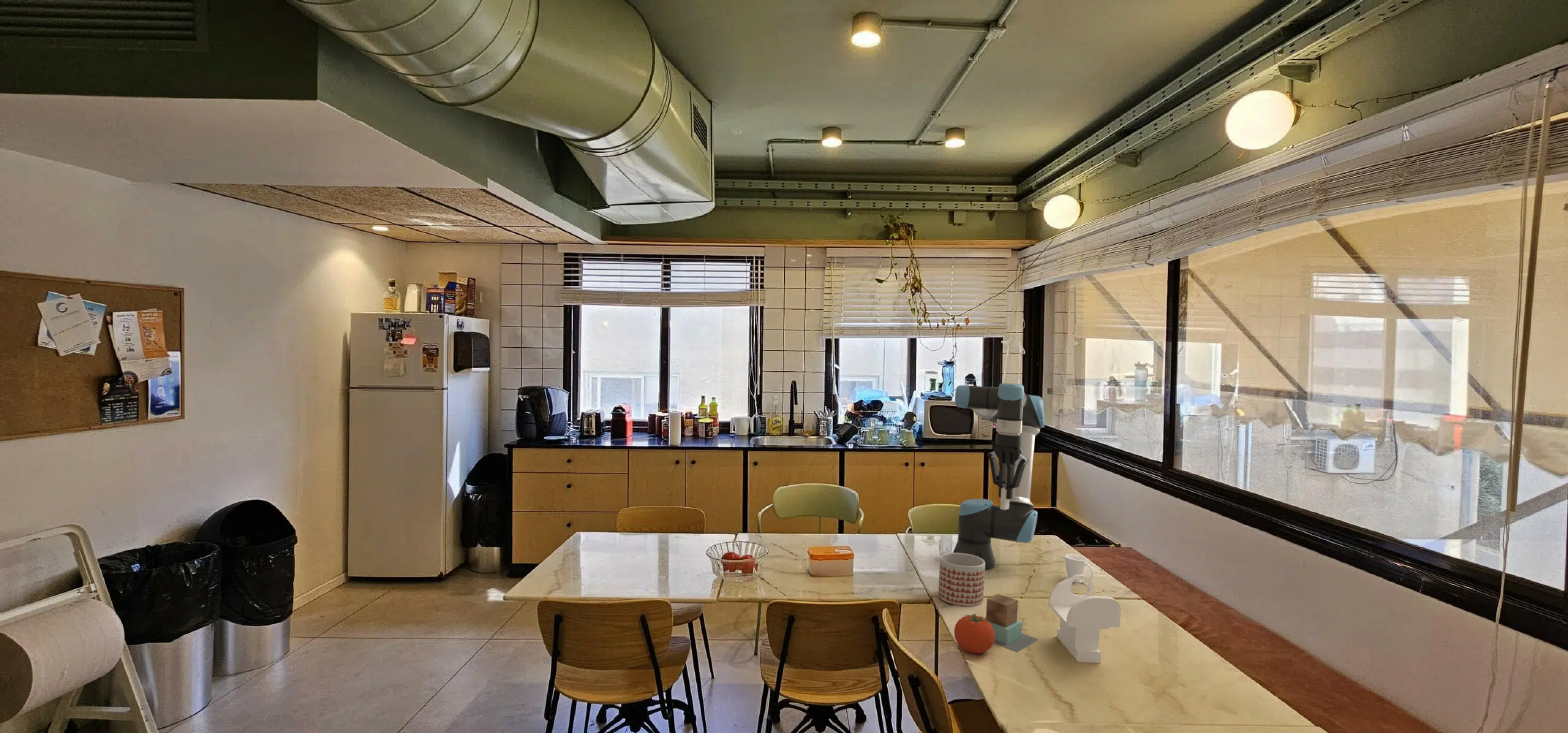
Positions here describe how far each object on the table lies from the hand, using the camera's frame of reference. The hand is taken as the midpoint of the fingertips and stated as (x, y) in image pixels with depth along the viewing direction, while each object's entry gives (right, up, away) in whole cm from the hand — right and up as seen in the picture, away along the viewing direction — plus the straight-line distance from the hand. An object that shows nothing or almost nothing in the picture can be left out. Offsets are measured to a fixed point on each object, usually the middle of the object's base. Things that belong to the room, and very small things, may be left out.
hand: (1004, 508), depth 209 cm
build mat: (-9, -30, -24) cm, 40 cm away
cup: (+33, -30, +22) cm, 50 cm away
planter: (-13, -29, +2) cm, 32 cm away
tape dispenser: (+10, -31, -30) cm, 45 cm away
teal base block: (-9, -30, -24) cm, 39 cm away
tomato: (-19, -30, -34) cm, 49 cm away
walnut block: (-9, -26, -24) cm, 36 cm away
